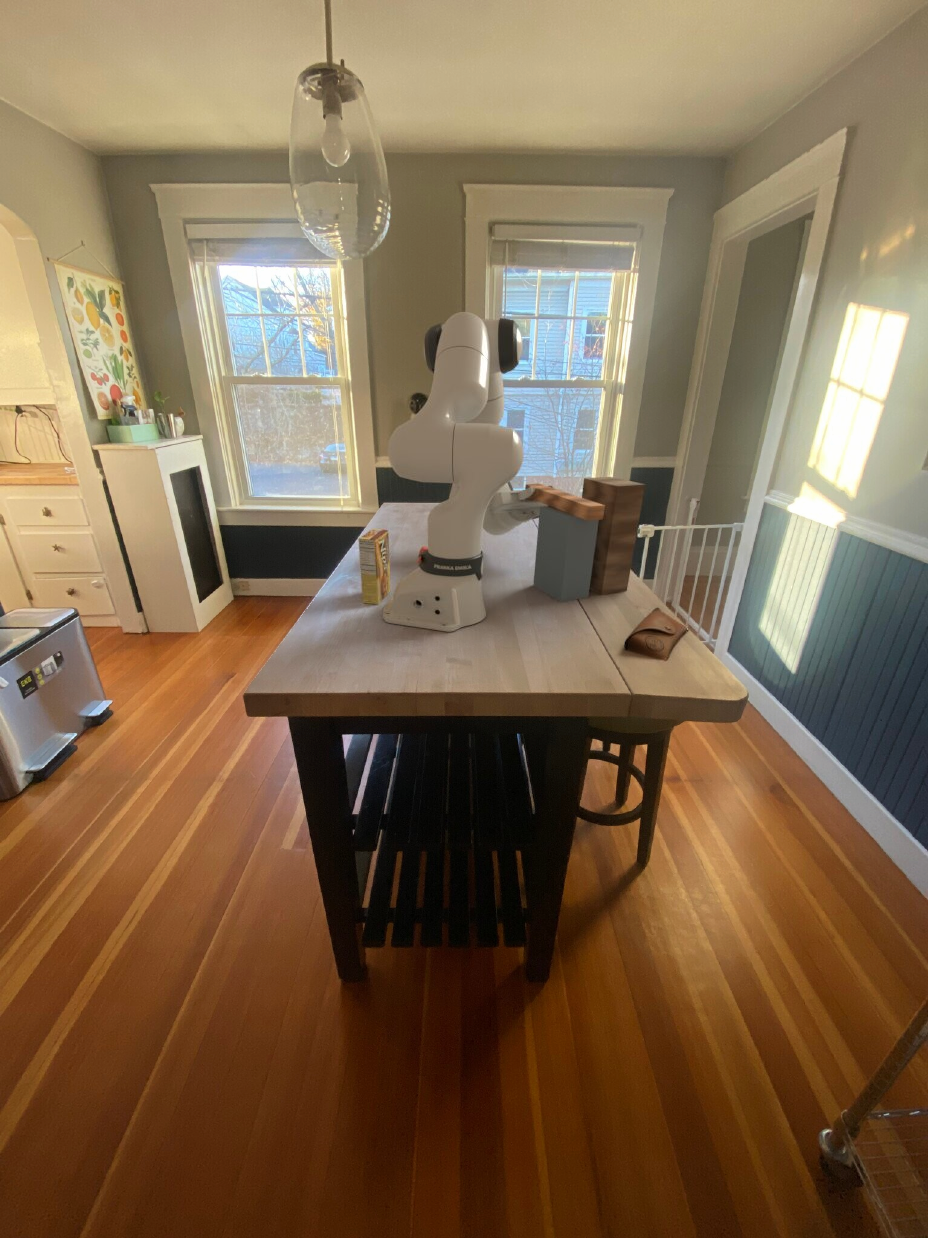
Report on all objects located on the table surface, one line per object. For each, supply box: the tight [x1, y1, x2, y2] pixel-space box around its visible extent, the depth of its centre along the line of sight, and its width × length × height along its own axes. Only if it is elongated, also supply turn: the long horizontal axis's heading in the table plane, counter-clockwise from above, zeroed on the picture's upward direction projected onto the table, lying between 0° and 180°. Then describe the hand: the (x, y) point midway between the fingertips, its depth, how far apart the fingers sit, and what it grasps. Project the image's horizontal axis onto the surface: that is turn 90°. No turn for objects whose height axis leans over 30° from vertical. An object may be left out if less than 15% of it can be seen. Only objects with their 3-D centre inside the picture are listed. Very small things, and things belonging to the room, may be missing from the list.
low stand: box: [533, 506, 599, 603], centre depth 115 cm, size 12×8×20 cm, turn 25°
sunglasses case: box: [623, 607, 690, 662], centre depth 97 cm, size 18×7×7 cm, turn 145°
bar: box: [524, 483, 605, 521], centre depth 113 cm, size 26×4×3 cm, turn 25°
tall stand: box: [581, 476, 646, 596], centre depth 119 cm, size 12×8×26 cm, turn 25°
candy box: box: [358, 528, 391, 605], centre depth 111 cm, size 9×4×15 cm, turn 170°
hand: (543, 489), depth 119 cm, fingers closed on bar, 4 cm apart
